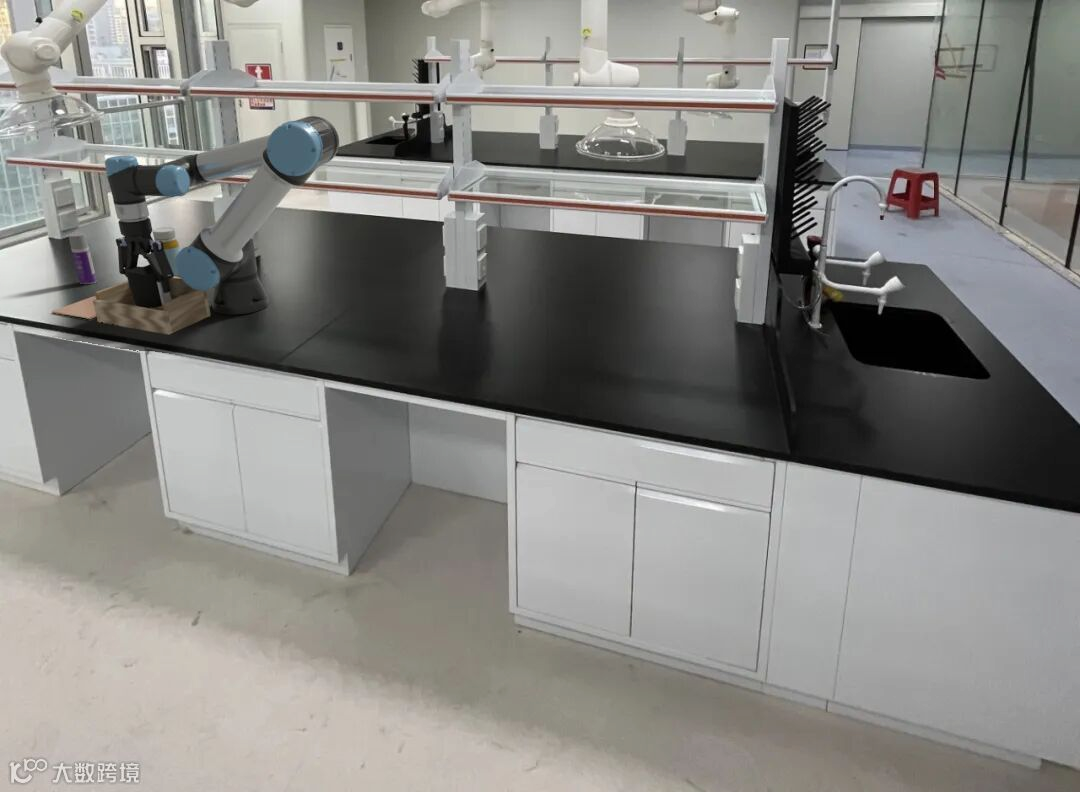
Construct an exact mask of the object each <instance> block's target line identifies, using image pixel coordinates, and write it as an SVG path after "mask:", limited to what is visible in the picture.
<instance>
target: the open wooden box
mask: <svg viewBox="0 0 1080 792" xmlns="http://www.w3.org/2000/svg"><path fill="white" fill-rule="evenodd" d="M169 285H170V296H171V300H170V301H167V302H165V303H163V306H160V307H155V308H145V307H139V306H136V305H135V302H134V299H133V296H132V292H131V288H130V287H129V283H128V280H125V281H122V282H119V283H116V284H114V285H112V286H109V287H108V286H107V287H105V288H102V289H101V290H97V291H95V292H94V295H95V296H96V300H94V301H93V304H94V308H95V312H96V316H97V318H96V319H97V320H96V321H97V323H101V322H103V323H102V324H106V323H107V324H108V325H112V324H114V325H113V326H117V325H118V326H119V327H123V328H130V329H136V330H141V331H145V332H152V333H158V334H163V335H171V334H174V333H175V332H178V331H180V330H182V329H184V328H187V327H189V326H191V325H194V324H196V323H198V322H199V321H202V320H204V319H206V318H209V317H211V315H212V314H211V311H210V310H211V309H210V304H209V299H208V294H207V293H208V292H207V290H196V289H194V288H192V287H190V286H188V285H187V284H186V283H185V282H184V281H183V280H182V279H181V278H180V277H175V276H174V277H173V278H170V279H169ZM156 308H158V309H156Z"/></svg>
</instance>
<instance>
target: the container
mask: <svg viewBox="0 0 1080 792" xmlns="http://www.w3.org/2000/svg"><path fill="white" fill-rule="evenodd" d="M68 239H69V245H70V248H71V255H72V258H73V262H74V265H75V268H76V273H77V278H78V280H79V284H80V285H81V284H85V285H84V286H87V285H86V284H91V285H94V284H93V283H95V284H96V282H97V283H98V279H97V275H96V272H95V267H94V264H93V259H92V253H91V251H90V247H89V243H88V239H87V236H86V233H85V232H73V233H69V234H68Z"/></svg>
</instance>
